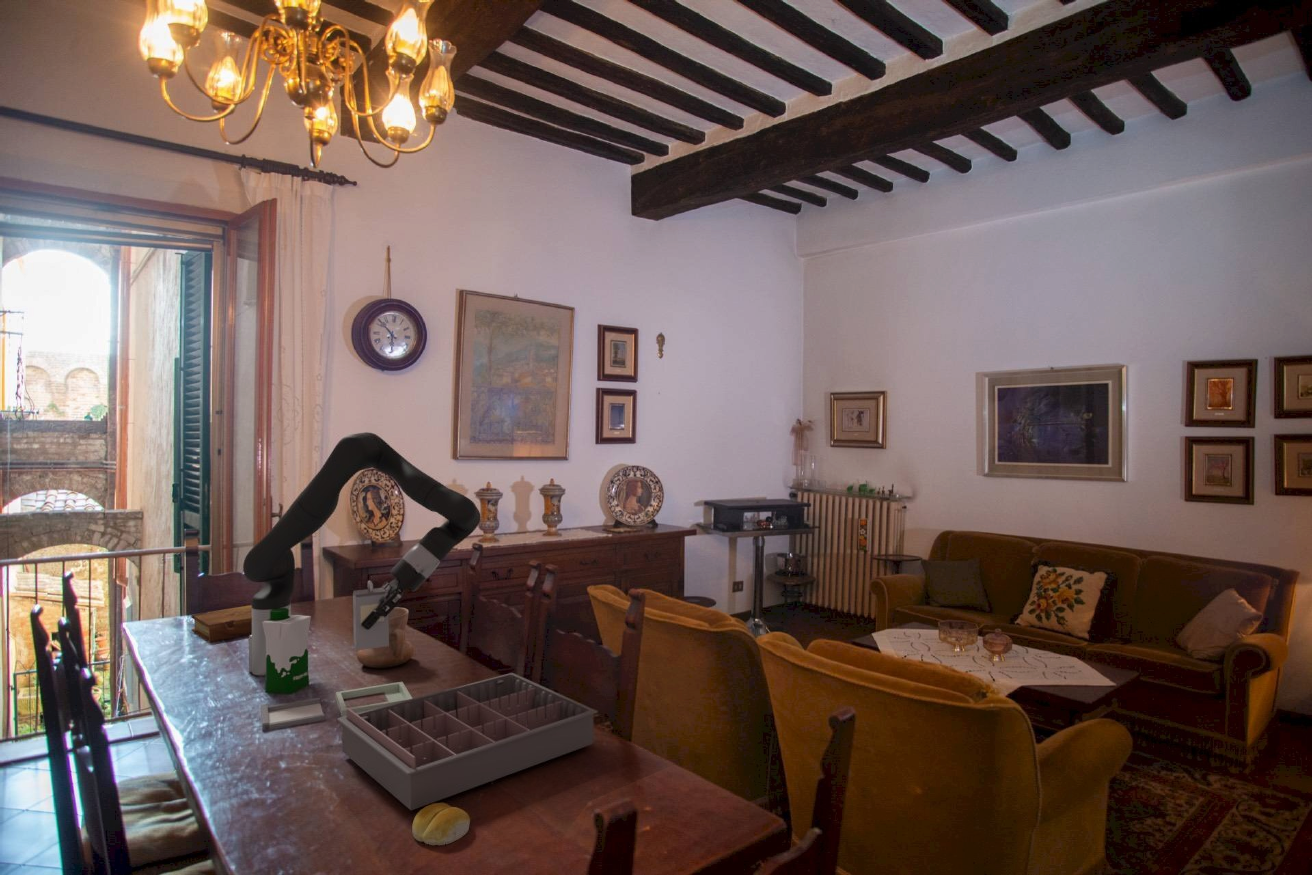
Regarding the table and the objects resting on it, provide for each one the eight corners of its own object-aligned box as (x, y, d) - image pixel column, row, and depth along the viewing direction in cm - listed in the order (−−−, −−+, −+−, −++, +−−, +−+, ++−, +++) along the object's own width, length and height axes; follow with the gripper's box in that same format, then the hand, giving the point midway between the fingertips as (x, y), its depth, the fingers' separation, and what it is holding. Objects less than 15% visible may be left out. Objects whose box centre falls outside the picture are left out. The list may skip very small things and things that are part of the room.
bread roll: (440, 813, 125) (440, 789, 125) (478, 829, 121) (478, 804, 121) (399, 836, 119) (399, 811, 118) (438, 853, 114) (438, 827, 114)
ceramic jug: (346, 662, 205) (346, 610, 204) (397, 650, 215) (397, 601, 214) (373, 679, 192) (373, 625, 191) (426, 666, 202) (426, 614, 201)
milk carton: (283, 684, 187) (283, 605, 187) (315, 687, 185) (315, 606, 185) (258, 697, 178) (257, 613, 178) (291, 699, 176) (291, 615, 176)
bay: (319, 706, 173) (319, 695, 172) (324, 724, 162) (324, 712, 162) (261, 715, 167) (261, 704, 167) (262, 735, 156) (262, 723, 156)
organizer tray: (598, 750, 150) (598, 701, 150) (408, 822, 123) (407, 762, 122) (512, 706, 173) (512, 663, 173) (336, 758, 146) (336, 707, 146)
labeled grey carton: (385, 640, 176) (384, 578, 176) (389, 646, 171) (388, 582, 171) (353, 644, 172) (352, 581, 172) (356, 650, 168) (355, 585, 168)
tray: (402, 691, 182) (402, 681, 182) (412, 709, 171) (412, 698, 171) (335, 702, 175) (335, 692, 175) (342, 722, 163) (342, 710, 163)
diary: (210, 644, 223) (209, 625, 223) (191, 632, 236) (191, 614, 235) (290, 629, 239) (290, 611, 239) (268, 618, 252) (268, 601, 252)
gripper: (398, 552, 181) (346, 607, 176) (409, 561, 169) (353, 621, 163) (421, 572, 184) (370, 627, 179) (433, 582, 172) (379, 642, 166)
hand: (362, 624), depth 171 cm, fingers closed on labeled grey carton, 5 cm apart
